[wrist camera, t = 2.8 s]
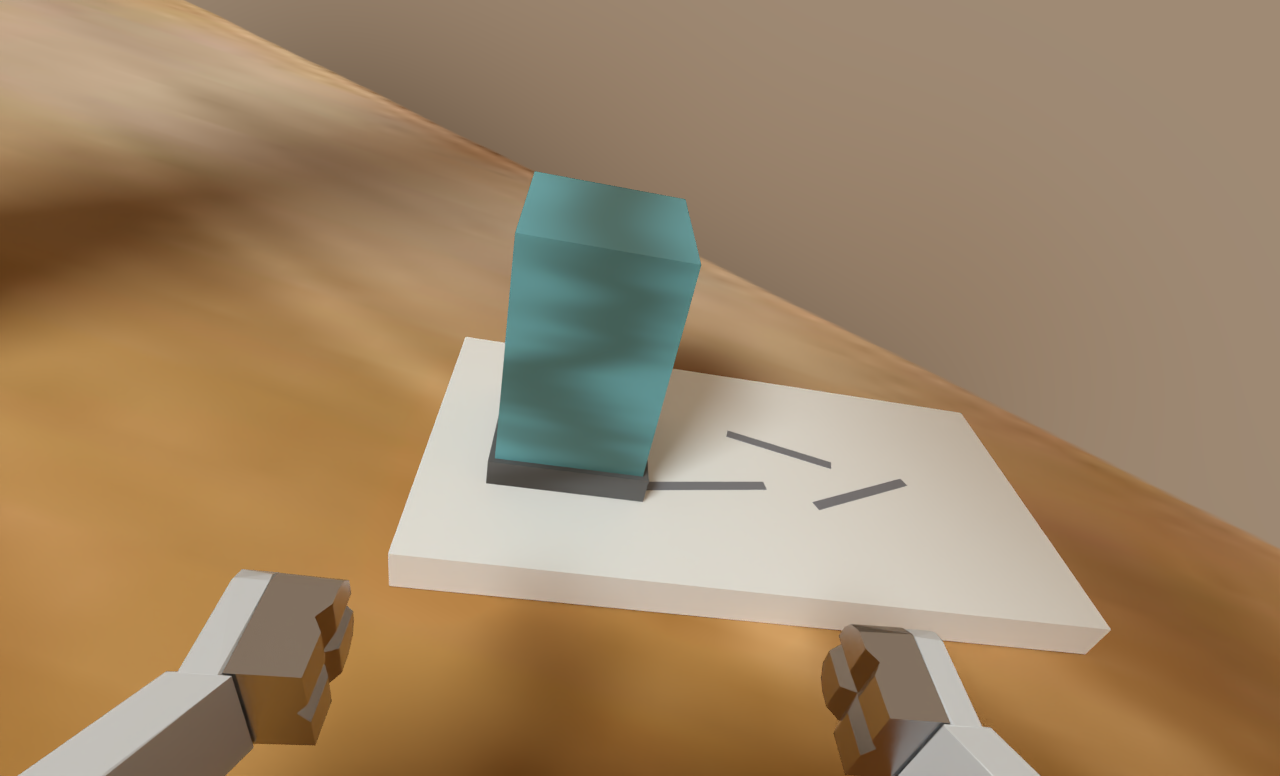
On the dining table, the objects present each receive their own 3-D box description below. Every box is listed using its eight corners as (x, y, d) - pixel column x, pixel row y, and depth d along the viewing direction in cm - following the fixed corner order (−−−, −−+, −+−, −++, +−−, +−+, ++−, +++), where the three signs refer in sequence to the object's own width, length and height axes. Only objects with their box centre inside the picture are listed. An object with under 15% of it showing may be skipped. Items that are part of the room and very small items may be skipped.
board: (389, 585, 20) (388, 553, 19) (464, 364, 29) (465, 336, 28) (1084, 654, 23) (1111, 629, 22) (946, 435, 33) (961, 412, 32)
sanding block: (485, 483, 22) (506, 234, 17) (507, 388, 26) (529, 168, 21) (642, 501, 23) (709, 269, 17) (638, 406, 27) (690, 198, 22)
